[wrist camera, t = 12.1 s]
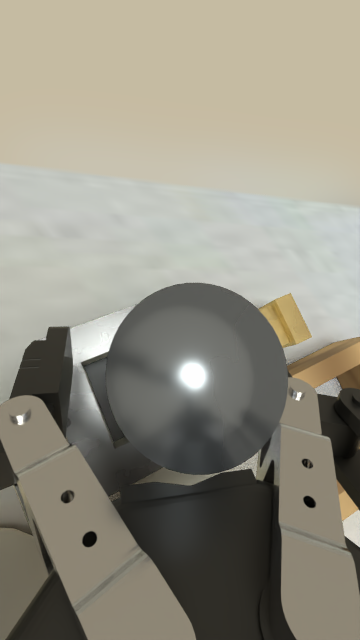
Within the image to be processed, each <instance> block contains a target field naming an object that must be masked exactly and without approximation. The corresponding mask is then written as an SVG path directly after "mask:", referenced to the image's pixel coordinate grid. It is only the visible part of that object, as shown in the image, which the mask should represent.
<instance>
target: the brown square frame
mask: <svg viewBox="0 0 360 640" xmlns="http://www.w3.org/2000/svg"><path fill="white" fill-rule="evenodd" d="M287 370H288V372H289V373H290V374H291V376H292V377H293V378H298V379H301V380H303V381H305V382H307V383H308V384H310V385H311V386H312V387H313V388H316V387H318V386H320V385H322V384H324V383H325V382H327V381H329V380H331V379H333V378H335V377H337V379H338V381H339V383H340V385H341V387H342V389H344V388H356V389H359V390H360V337H356V338H352V339H347V340H343V341H338V342H334V343H332V344H330V345H328V346H326V347H324V348H322V349H320V350H318V351H316V352H314V353H312V354H310V355H308V356H306V357H304V358H302V359H300V360H298V361H296V362H294V363H292V364H290V365H288V366H287ZM359 449H360V447H359ZM336 480H337V479H336ZM337 488H338V495H339V502H340V509H341V516H342V521H343V520H344V519H346V518H347V517H349V516H350V515H351V514H353V513H354V512H356V511H357V510H358V508H357V506H356V505H355V503H354V502H353V501H352V499H351V498H350V497H349V495H348V494H347V493H346V491H345V490H344V489H343V487H342V486H341V485H340V483H339V482H338V480H337Z"/></svg>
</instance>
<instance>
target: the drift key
mask: <svg viewBox="0 0 360 640" xmlns="http://www.w3.org/2000/svg"><path fill="white" fill-rule="evenodd" d="M258 310H259V311H260V312H261V313H262V314H263V315H264V316H265V317H266V319H267V320H268V321H269V323H270V324H271V326H272V327H273V329H274V331H275V332H276V334H277V336H278V338H279V340H280V343H281V345H282V348H284V347H288V346H292V345H296V344H298V343H300V342H303V341H305V340H307V339H309V338H311V337H312V336H311V334H310V332H309V330H308V328H307V326H306V323H305V321H304V319H303V317H302V315H301V313H300V311H299V309H298V307H297V305H296V303H295V301H294V299H293V297H292V295H291V293H290V294H287V295H285V296H282V297H280V298H278V299H275V300H273V301H272V302H270V303H268V304H266V305H264V306H263V307H261V308H259V309H258Z"/></svg>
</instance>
